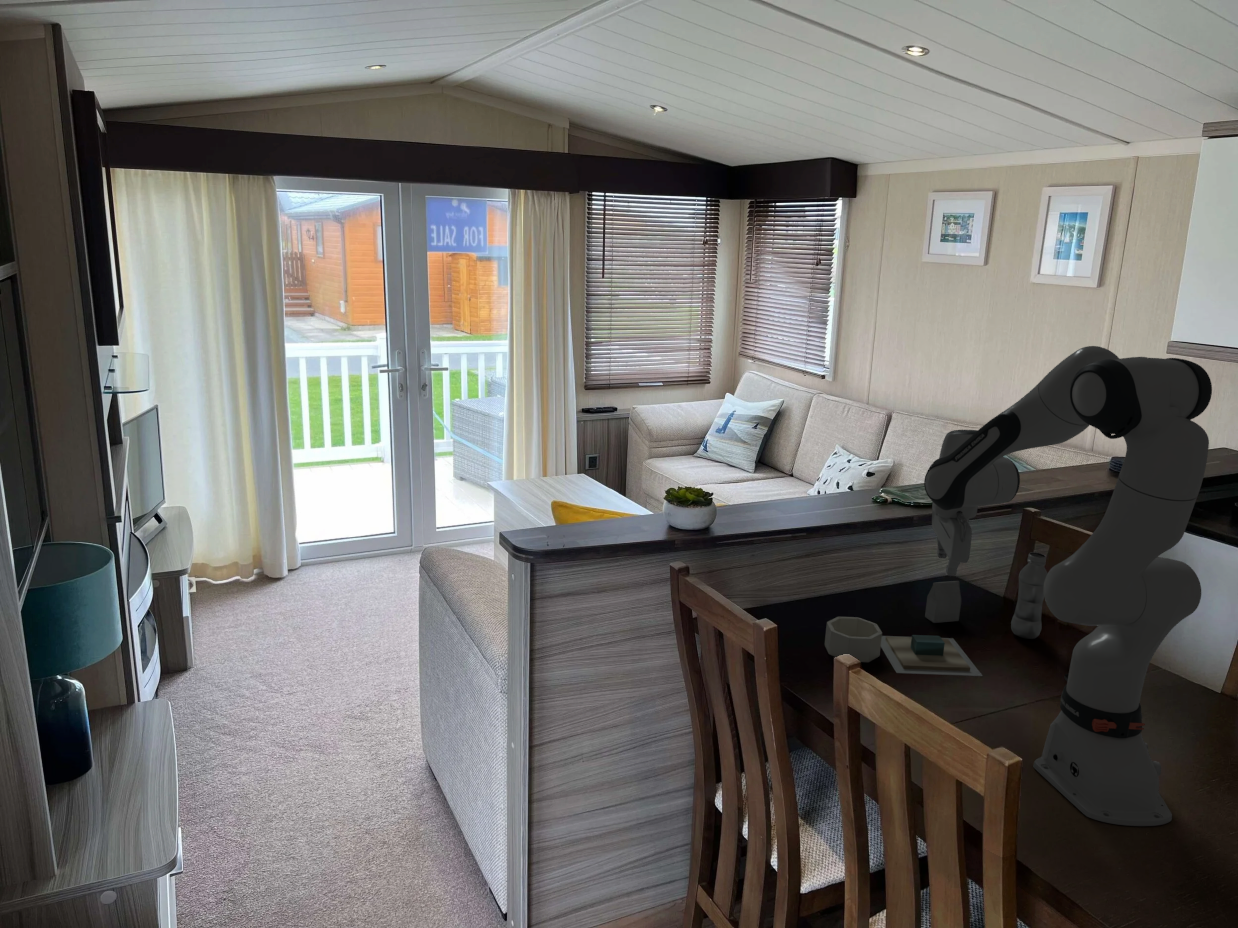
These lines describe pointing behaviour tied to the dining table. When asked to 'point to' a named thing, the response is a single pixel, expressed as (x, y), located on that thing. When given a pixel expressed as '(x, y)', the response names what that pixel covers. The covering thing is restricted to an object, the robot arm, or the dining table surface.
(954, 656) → the board
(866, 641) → the bowl
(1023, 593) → the plastic bottle
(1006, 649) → the dining table surface
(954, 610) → the dark grey block
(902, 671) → the mat
